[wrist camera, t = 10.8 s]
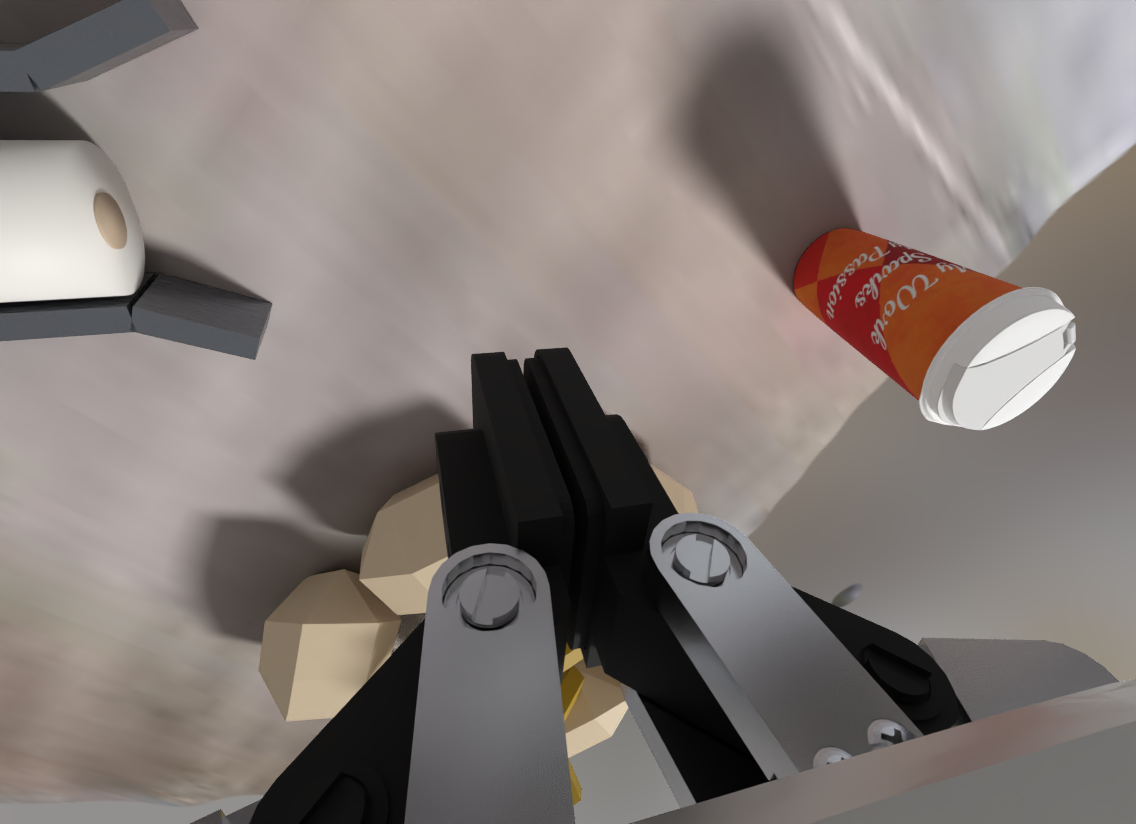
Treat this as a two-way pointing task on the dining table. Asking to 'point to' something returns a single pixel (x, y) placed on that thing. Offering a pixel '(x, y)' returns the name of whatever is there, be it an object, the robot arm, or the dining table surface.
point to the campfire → (371, 622)
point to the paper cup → (938, 326)
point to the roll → (65, 223)
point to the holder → (159, 301)
